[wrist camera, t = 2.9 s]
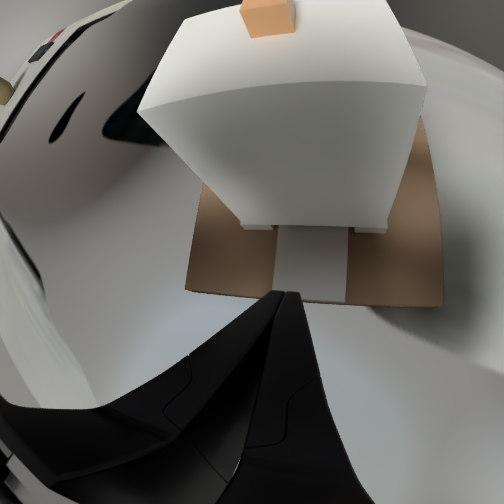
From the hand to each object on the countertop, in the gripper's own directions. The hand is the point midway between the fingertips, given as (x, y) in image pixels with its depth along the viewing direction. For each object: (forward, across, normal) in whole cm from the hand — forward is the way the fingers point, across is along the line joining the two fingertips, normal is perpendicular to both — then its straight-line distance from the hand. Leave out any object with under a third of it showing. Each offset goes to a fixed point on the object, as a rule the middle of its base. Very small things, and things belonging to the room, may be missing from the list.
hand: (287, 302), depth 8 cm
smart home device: (+58, +93, -47) cm, 119 cm away
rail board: (+12, 0, -2) cm, 12 cm away
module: (+9, 0, -1) cm, 9 cm away
